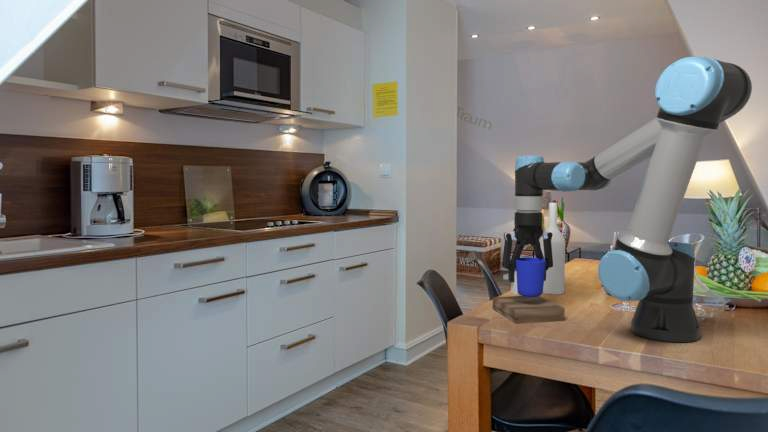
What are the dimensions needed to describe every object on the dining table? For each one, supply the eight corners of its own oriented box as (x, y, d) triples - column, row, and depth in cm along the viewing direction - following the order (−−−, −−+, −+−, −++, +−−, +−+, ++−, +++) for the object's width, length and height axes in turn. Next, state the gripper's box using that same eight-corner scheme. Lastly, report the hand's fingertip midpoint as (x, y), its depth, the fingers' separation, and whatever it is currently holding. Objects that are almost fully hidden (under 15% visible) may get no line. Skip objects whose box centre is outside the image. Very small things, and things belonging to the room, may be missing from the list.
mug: (539, 289, 158) (540, 255, 157) (547, 298, 146) (548, 262, 145) (511, 289, 159) (511, 255, 158) (516, 298, 147) (517, 261, 146)
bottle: (535, 289, 186) (536, 202, 183) (558, 289, 186) (559, 202, 184) (544, 295, 178) (546, 203, 175) (568, 294, 178) (570, 203, 176)
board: (564, 320, 146) (564, 307, 146) (515, 323, 144) (515, 310, 143) (537, 306, 162) (537, 295, 162) (492, 309, 159) (492, 297, 159)
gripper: (554, 210, 156) (553, 288, 158) (489, 211, 153) (488, 291, 154) (568, 211, 149) (566, 294, 150) (499, 212, 145) (498, 297, 147)
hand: (527, 292), depth 152 cm, fingers closed on mug, 7 cm apart
